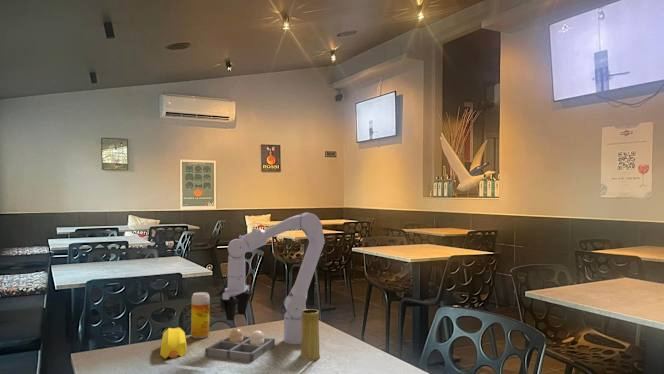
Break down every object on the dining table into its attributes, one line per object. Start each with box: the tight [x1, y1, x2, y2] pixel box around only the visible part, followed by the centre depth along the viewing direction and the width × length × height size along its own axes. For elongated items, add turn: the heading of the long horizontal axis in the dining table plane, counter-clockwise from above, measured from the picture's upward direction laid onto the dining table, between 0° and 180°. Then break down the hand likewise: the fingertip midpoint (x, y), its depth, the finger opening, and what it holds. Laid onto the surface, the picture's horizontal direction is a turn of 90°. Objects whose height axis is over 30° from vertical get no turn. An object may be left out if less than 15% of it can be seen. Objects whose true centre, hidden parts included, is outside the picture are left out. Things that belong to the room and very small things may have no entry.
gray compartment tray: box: [204, 334, 276, 363], centre depth 149 cm, size 16×16×3 cm
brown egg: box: [229, 327, 244, 343], centre depth 154 cm, size 4×4×6 cm
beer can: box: [190, 291, 211, 340], centre depth 167 cm, size 6×6×15 cm
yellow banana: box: [159, 326, 188, 360], centre depth 150 cm, size 18×7×8 cm
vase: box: [300, 308, 321, 362], centre depth 146 cm, size 6×6×14 cm
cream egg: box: [249, 329, 265, 345], centre depth 152 cm, size 4×4×6 cm
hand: (236, 317), depth 156 cm, fingers open, 7 cm apart
